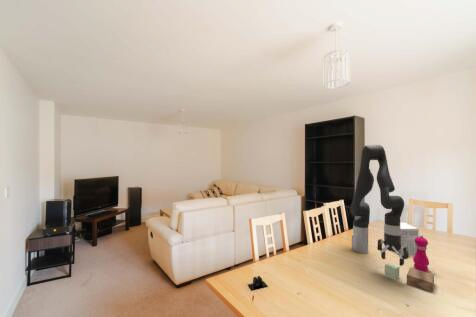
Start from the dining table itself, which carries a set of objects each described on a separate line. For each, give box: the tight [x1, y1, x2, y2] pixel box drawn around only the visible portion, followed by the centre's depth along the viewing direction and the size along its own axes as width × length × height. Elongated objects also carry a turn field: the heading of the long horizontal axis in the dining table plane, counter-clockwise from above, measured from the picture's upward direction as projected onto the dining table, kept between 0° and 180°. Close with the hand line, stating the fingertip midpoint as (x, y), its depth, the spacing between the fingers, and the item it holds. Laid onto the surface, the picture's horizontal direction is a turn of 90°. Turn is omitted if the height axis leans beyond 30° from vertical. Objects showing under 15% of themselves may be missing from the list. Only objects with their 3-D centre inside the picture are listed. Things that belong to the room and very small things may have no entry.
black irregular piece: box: [247, 275, 269, 292], centre depth 114 cm, size 12×7×5 cm, turn 110°
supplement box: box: [400, 222, 420, 256], centre depth 153 cm, size 13×13×18 cm
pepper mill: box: [412, 234, 430, 272], centre depth 129 cm, size 7×7×20 cm
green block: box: [384, 262, 400, 281], centre depth 122 cm, size 5×5×6 cm
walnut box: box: [406, 267, 435, 293], centre depth 115 cm, size 10×10×5 cm
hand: (392, 262), depth 121 cm, fingers open, 8 cm apart
